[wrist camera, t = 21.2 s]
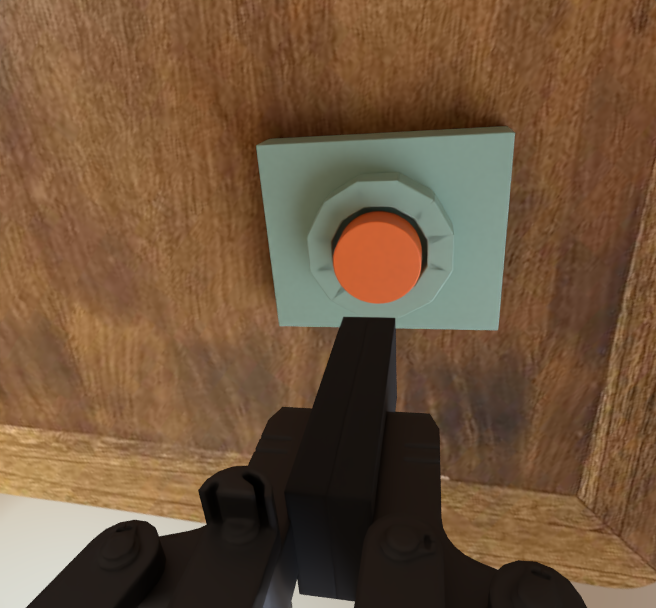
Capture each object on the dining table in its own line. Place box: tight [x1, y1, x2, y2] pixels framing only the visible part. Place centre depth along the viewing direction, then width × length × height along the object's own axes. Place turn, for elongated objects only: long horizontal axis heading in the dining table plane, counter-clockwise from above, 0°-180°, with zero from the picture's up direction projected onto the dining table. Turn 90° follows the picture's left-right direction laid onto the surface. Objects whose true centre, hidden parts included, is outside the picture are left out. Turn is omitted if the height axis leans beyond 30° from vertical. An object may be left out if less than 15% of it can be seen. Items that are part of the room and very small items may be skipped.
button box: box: [256, 126, 515, 330], centre depth 25 cm, size 12×10×4 cm
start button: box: [333, 211, 422, 304], centre depth 23 cm, size 4×4×2 cm
